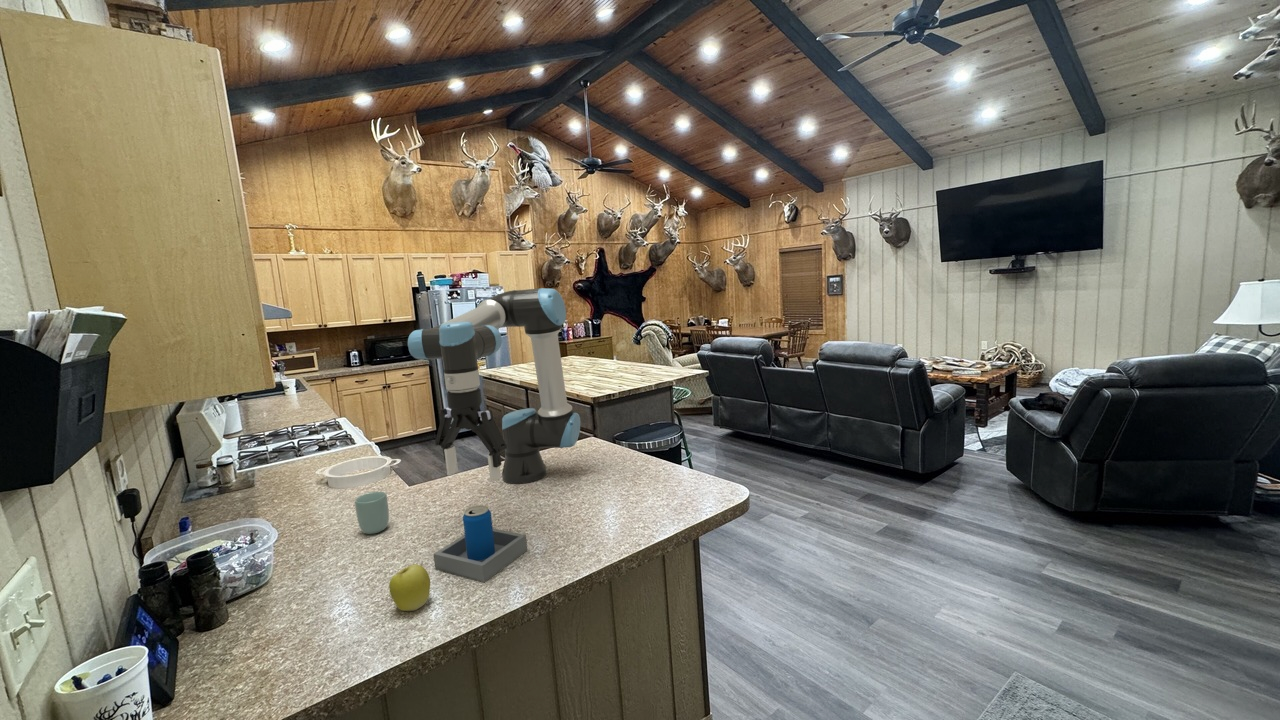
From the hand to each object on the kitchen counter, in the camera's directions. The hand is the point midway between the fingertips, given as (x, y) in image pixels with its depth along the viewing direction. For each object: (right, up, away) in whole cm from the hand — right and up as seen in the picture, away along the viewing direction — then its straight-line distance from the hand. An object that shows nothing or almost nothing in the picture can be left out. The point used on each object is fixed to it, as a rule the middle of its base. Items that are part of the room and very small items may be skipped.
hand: (473, 476), depth 123 cm
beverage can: (+1, -20, +3) cm, 21 cm away
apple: (-8, -24, -14) cm, 29 cm away
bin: (+1, -21, +3) cm, 21 cm away
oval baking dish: (-63, -16, +68) cm, 94 cm away
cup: (-35, -20, +22) cm, 46 cm away
